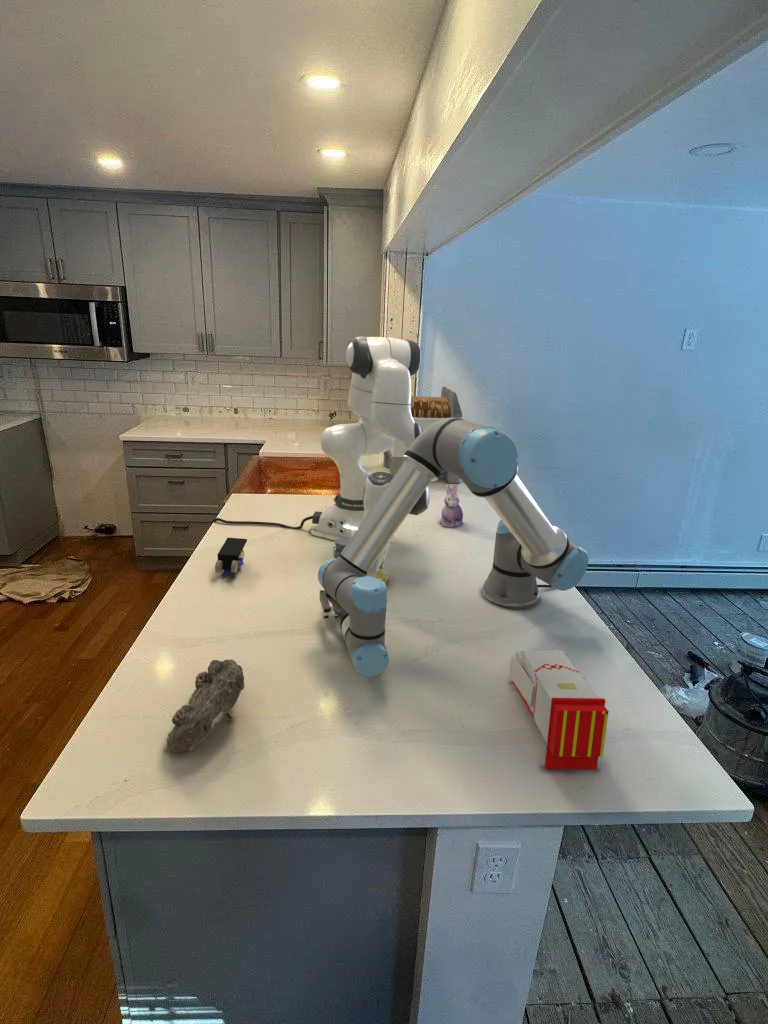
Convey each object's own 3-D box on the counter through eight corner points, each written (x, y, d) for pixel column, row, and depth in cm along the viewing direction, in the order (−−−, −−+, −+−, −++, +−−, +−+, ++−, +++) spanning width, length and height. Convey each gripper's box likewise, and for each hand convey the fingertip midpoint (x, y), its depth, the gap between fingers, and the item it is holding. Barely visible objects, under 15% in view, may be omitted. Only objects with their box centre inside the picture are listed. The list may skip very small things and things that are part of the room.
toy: (559, 632, 124) (618, 706, 95) (553, 688, 127) (609, 777, 97) (504, 631, 123) (546, 705, 94) (499, 687, 126) (539, 776, 97)
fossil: (192, 660, 117) (244, 628, 112) (224, 691, 120) (276, 661, 115) (142, 746, 98) (202, 712, 93) (182, 779, 101) (242, 748, 96)
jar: (330, 607, 149) (331, 538, 143) (349, 605, 151) (351, 536, 144) (334, 617, 145) (335, 546, 138) (354, 615, 146) (356, 544, 139)
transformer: (382, 463, 289) (386, 382, 275) (445, 464, 293) (451, 384, 279) (390, 482, 257) (394, 392, 243) (460, 483, 261) (468, 394, 247)
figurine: (448, 529, 205) (451, 490, 200) (433, 520, 214) (436, 482, 209) (469, 526, 210) (473, 487, 204) (454, 517, 218) (457, 479, 213)
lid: (383, 587, 161) (383, 581, 160) (363, 584, 162) (363, 578, 162) (388, 578, 166) (389, 572, 166) (369, 575, 168) (369, 569, 167)
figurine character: (238, 584, 162) (249, 557, 175) (236, 562, 158) (247, 536, 172) (215, 584, 161) (227, 556, 175) (212, 561, 158) (225, 535, 171)
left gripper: (375, 516, 169) (374, 559, 174) (358, 542, 150) (357, 589, 155) (396, 519, 168) (394, 561, 173) (381, 545, 149) (379, 592, 154)
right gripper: (317, 643, 128) (304, 595, 149) (394, 635, 133) (372, 589, 154) (317, 614, 126) (304, 569, 147) (396, 607, 130) (373, 564, 151)
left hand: (376, 574), depth 164 cm, fingers open, 8 cm apart
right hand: (339, 579), depth 150 cm, fingers closed on jar, 5 cm apart
